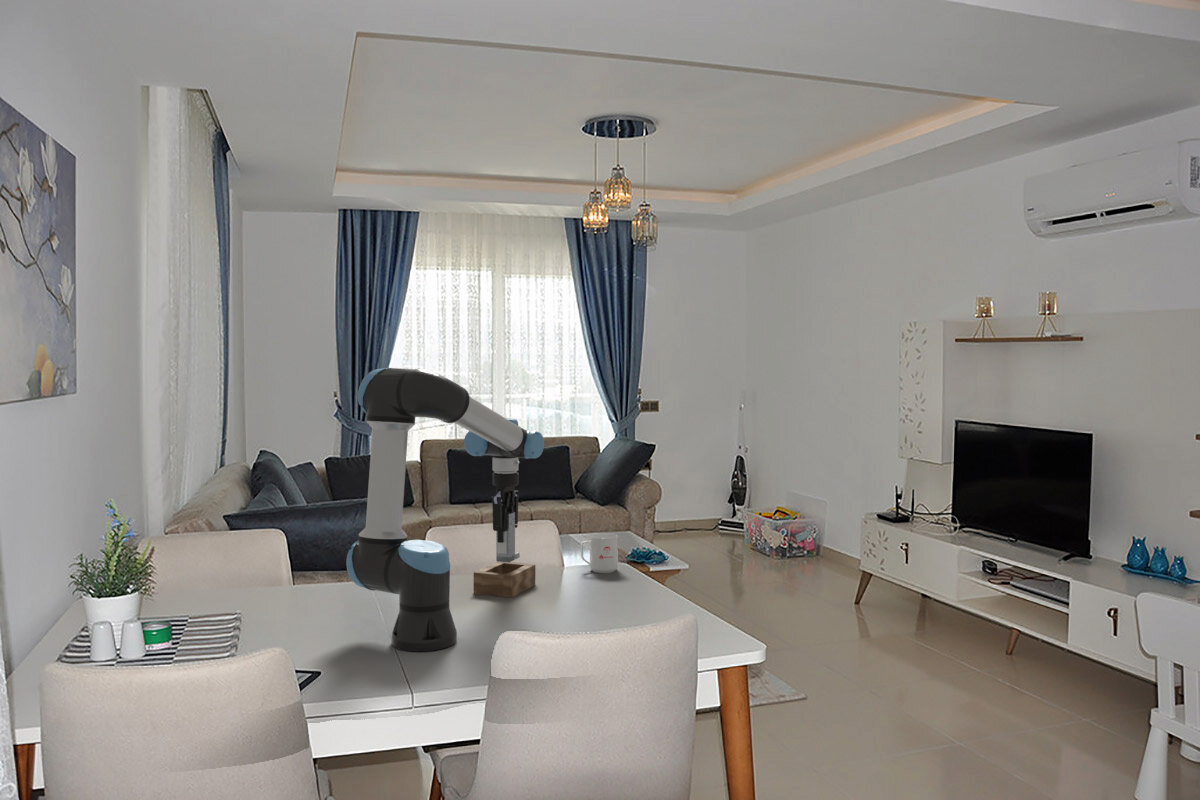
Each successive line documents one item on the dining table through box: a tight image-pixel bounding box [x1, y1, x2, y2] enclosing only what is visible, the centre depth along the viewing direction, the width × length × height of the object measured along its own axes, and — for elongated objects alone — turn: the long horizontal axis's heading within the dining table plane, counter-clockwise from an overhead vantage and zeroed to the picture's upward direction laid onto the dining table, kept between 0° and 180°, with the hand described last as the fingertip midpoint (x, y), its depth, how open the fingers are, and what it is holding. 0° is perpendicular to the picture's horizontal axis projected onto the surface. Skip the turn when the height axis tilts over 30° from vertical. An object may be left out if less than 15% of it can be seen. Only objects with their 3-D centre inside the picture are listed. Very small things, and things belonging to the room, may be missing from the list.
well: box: [473, 561, 536, 598], centre depth 269 cm, size 16×12×6 cm
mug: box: [580, 532, 619, 574], centre depth 292 cm, size 12×9×11 cm
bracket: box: [495, 512, 520, 562], centre depth 270 cm, size 7×4×14 cm, turn 159°
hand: (505, 551), depth 268 cm, fingers closed on bracket, 4 cm apart
